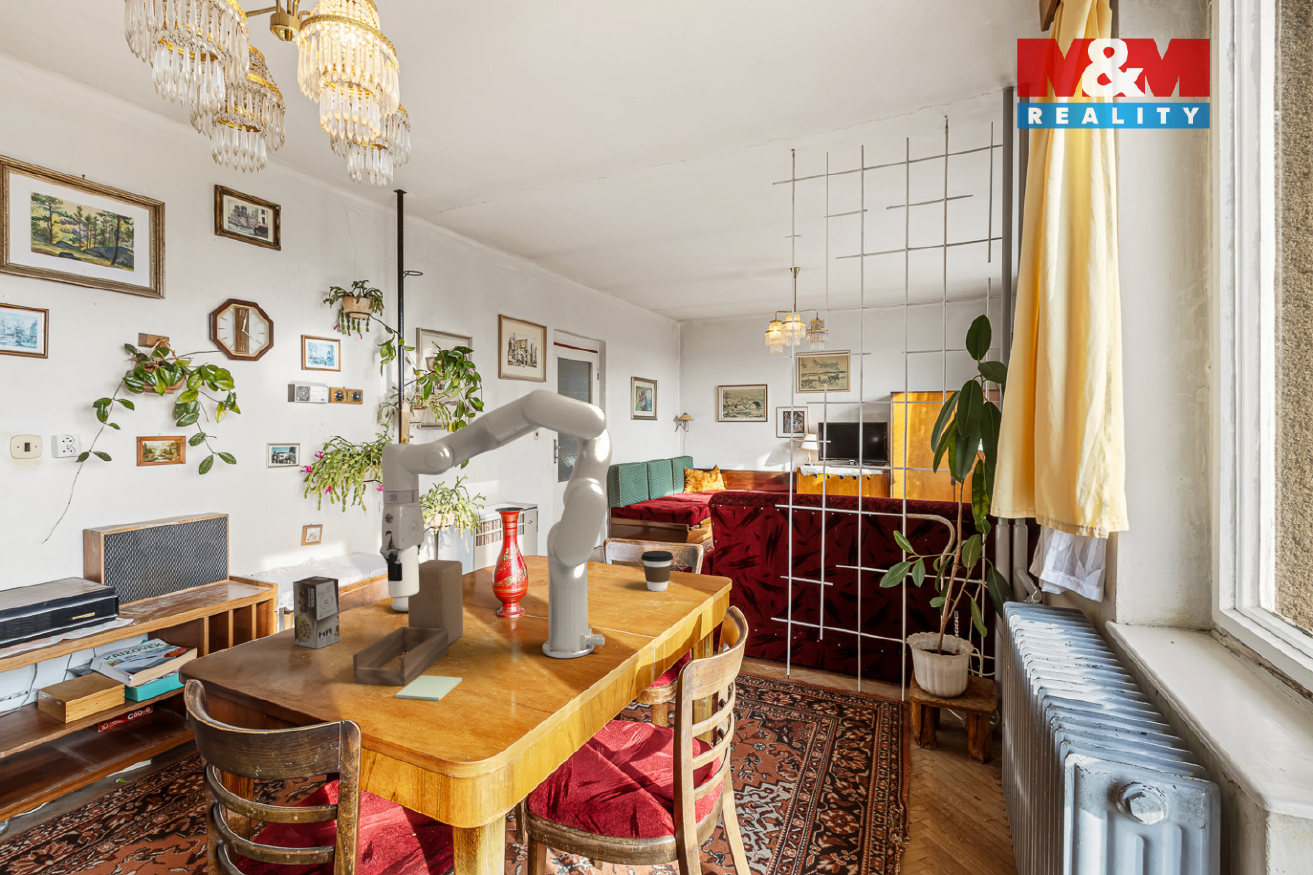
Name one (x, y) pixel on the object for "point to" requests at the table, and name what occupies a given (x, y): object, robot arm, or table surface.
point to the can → (406, 575)
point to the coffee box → (316, 611)
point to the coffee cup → (657, 569)
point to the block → (438, 598)
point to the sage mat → (428, 688)
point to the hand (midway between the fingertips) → (403, 576)
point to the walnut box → (421, 655)
